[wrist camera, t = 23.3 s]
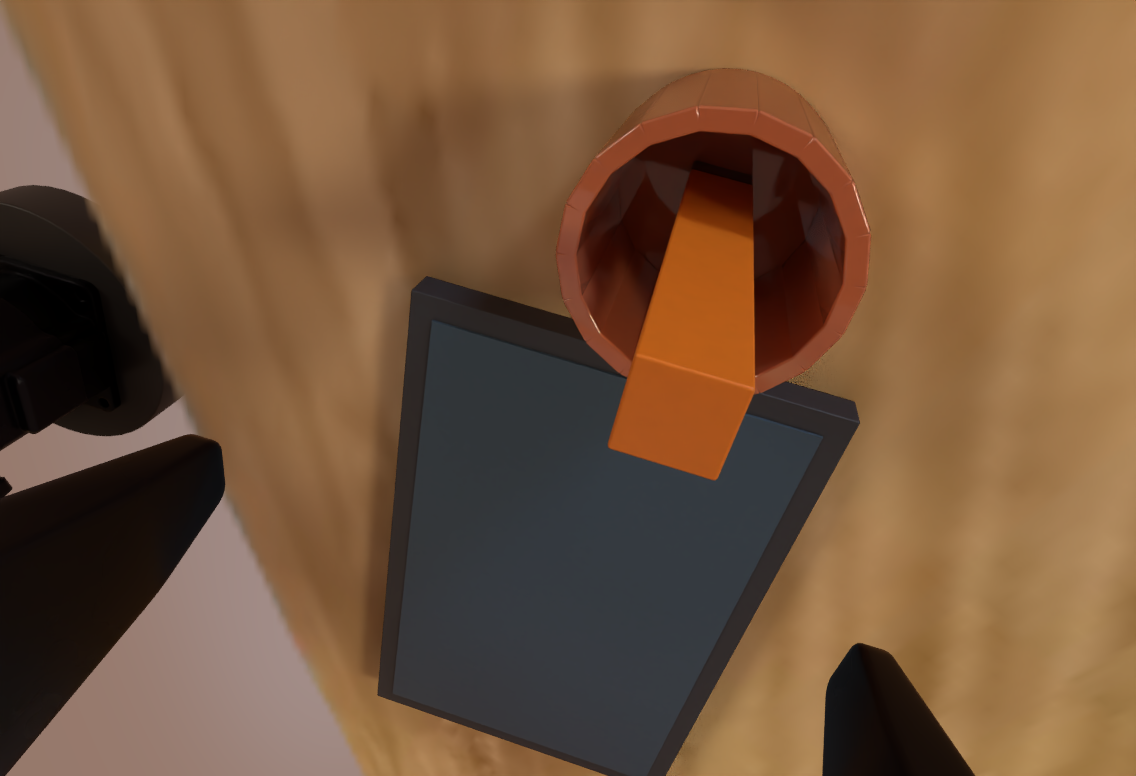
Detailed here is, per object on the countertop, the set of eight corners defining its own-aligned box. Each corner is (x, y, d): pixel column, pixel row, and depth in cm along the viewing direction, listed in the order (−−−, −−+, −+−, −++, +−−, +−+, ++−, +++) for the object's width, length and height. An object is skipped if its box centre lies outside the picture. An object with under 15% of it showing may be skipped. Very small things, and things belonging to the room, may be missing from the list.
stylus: (676, 216, 19) (606, 449, 10) (694, 158, 18) (634, 353, 9) (733, 232, 19) (716, 483, 10) (753, 174, 18) (756, 389, 9)
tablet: (387, 674, 34) (375, 697, 33) (426, 275, 22) (409, 291, 21) (659, 768, 33) (656, 795, 32) (855, 401, 21) (861, 424, 20)
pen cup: (585, 263, 21) (533, 356, 16) (638, 39, 17) (593, 66, 12) (784, 320, 20) (795, 434, 15) (878, 101, 17) (932, 155, 12)
